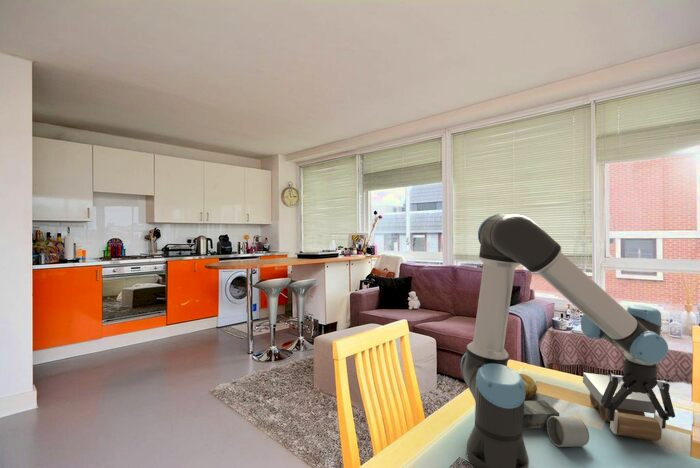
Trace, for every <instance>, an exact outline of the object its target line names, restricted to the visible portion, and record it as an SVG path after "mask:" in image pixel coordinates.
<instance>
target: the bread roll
mask: <svg viewBox="0 0 700 468" xmlns="http://www.w3.org/2000/svg"><path fill="white" fill-rule="evenodd" d="M519 374H520V375H521V377H522V378H523V380H524V384H525V392H526V395H525V400H526V399H533V397H534V395H536V393H537V392H538V386H537V384H536V381H535V380H534V379H533V378H532V377H531V376H529V375H528V374H525V373H519Z"/></svg>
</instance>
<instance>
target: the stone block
mask: <svg viewBox="0 0 700 468" xmlns="http://www.w3.org/2000/svg"><path fill="white" fill-rule="evenodd" d="M551 416H560V412H558V410H556V409H555V408H554V407H553V406H552V404H549V403H548V402H547V401H546V400H545V399H544V400H542V399H541V400H525V402H524V418H523V429H525V430H529V429H542V430H544V429H545V430H547V421H548V419H549V417H551Z"/></svg>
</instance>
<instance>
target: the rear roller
mask: <svg viewBox="0 0 700 468" xmlns="http://www.w3.org/2000/svg"><path fill="white" fill-rule="evenodd" d="M589 400H590V401H589V402H590V404H591V405H592V407H593V408H595V409H599V402H598V401H597V400H596V399H595V397H594V396H593V395H592V393H591V392H590V391H589Z"/></svg>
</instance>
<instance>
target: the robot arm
mask: <svg viewBox="0 0 700 468" xmlns="http://www.w3.org/2000/svg"><path fill="white" fill-rule="evenodd" d="M477 239H478V242H479V244H480V246H479V247H480V248H479V254H478V258H479V259H480V260H481V262H482V263H483V267H482V273H481V278H480V279H481V281H480V288H479V296H478V303H477V310H476V318H475V325H474V334H473V339H472V341H471V342H469V343H468V344H467V345H466V352H465V353H464V354H463V355H462V357H461V361H460V372H461V375H462V378H463V380H464V382H465V384H466V385H467V387H468V389H469V391H470V393H471V394H472V397H473V398H474V402H475V403H474V405H475V407H474V408H475V409H474V425H473V428H472V430H471V433H470V435H469V437H468V440H467V443H466V456H467V455H468V456H467V459H468V460H469V462H470V461H471V462H472V463H471V462H470V463H471V464H472V465H473V466H474V467H475V468H529V465H530V459H529V455H528V452H527V449H526V444H525V441H524V437H523V435H524V433H523V418H524V402H525V401H526V398H525V395H526V392H525V384H524V380H523V378H522V377H521V375H520V374H521V373H519V372H518V371H516V370H515V369H513V368H510V367H509V366H508V363H509V362H508V361H509V353H508V352H507V350H506V349H505V342H506V335H507V327H508V319H509V314H510V313H509V312H510V306H511V301H512V300H511V299H512V298H511V297H512V291H513V286H514V285H513V284H514V278H515V271H516V269H517V267H519V266H520V265H522V267H524V268H525V269H526V270H528V272H530V273H537V274H538V275H539V276H540V277H541V278H543V280H544V281H546V282H547V283H548V284H549V285H551V287H552V288H554V289H555V290H556V291H557V292H559V293H560V294H561V295H562V296H563V297H564V298H565V299H566V300H567V301H569V303H571V304H572V305H573V306H574V307H575V308H576V309H577V310H579V312H581V313H582V316H581V318H580V328H581V331H582V333H583V335H584V336H586V337H587V338H589V339H596V340H604V341H606V342H607V343H609V344H611V345H612V346H615V347H617V348H618V349H620V350H622V351H623V356H624V357H623V364H622V365H623V366H622V370H623V371H622V373H621V375H620V374H619V375H617V374H614V373H609V376H610V381H609V383H608V386H607V388H606V390H605V392H604V395H603V397H602V399H601V403H602V405H603V406H604V407H605V408H608V412H607V417H608V419H609V420H610V424H609V429H610V430H611V432H612V433H613V434H615V435H616V434H617V424H618V411H617V410H616V409H617V408H618V407H619V405H620V404H621V403H622V402H623V401H624V400H625V399H626V397H627V396H628V395H630V394H631V393H632V392H635V393H638V392H640V393H643V394H646V393H647V395H648V397H649V399H650V400H651V402H652V404H653V405H654V407H655V409H656V412H657V413H654V414H653V418H655V419H656V420H657V421H658V422H659V425H660V428H661V431H662V430H663V429H666V426H667V425H666V424H667V421H669V420H670V418H675V417H676V413H675V409H674V407H673V403H672V399H671V394H670V387H671V386H670V384H669V383H668V382H667V381H666V380H664V379H660V380H659V379H657V377H658V375H657V374H658V364H657V363H660V362H662V360H664V359H665V358H666V356H667V355H668V352H669V345H668V343H667V341H666V340H665V338H664V337H663V336H662V335H661V331H662V330H661V329H662V326H663V325H662V314H661V312H660V310H658V309H657V308H654V307H651V306H646V305H641V304H640V305H639V304H633V305H632V304H631V305H629V306H627V309H625V308H624V307H623V305H621V304H620V303H619V302H618V301H616V299H614V298H613V297H612V296H611V295H610V294H608V293H607V291H605V290H604V289H603V288H602V287H601V286H600V285H598V284H597V282H595V281H594V280H593V279H592V278H591V277H590V276H589V275H588V274H586V273H585V271H583V269H581V268H580V267H578V266H577V265H576V264H575V263H574V262H573V261H572V260H571V259H570V258H569V257H568V256H566V255H565V254H564V253H563V252H562V246H561V245H560V244H559V243H558V242H557V241H556V240H555V239H554V238H553V237H551V235H549V234H548V232H547V231H546V230H544V229H543V228H542V227H541V226H539V224H537V223H536V222H535V221H533V220H532V219H531V218H530V217H527V216H525V215H522V214H513V213H512V214H509V213H508V214H507V213H497V214H493V215H490V216H488V217H487V218H485V219H483V221H482V222H481V224H480V226H479V227H478V230H477ZM621 380H623V382H624V383H623V385H622V386H621V389H620V390H619V391H618V392H617V393H616V394H615V391H616V389H617V387H618V384H619V383H620V381H621ZM656 386H657V388H658V391H659V394H660V397H661V400H662V404H663V405H661V403H660V401H659V400H658V398H657V396H656V393H655V391H654V390H653V389H654V388H655V387H656ZM627 388H628V389H627ZM614 394H615V396H614ZM613 396H614V397H613ZM663 408H664V409H663ZM662 432H663V431H662ZM661 441H662V438H661V439H660V440H659V442H661Z"/></svg>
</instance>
